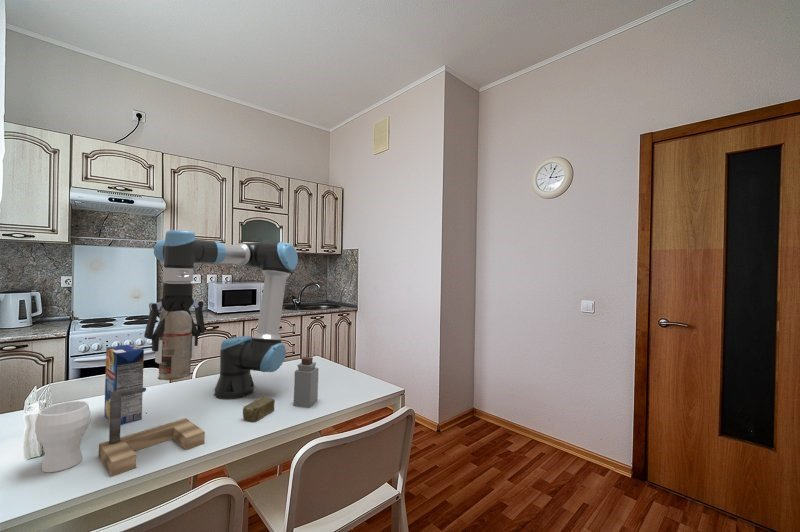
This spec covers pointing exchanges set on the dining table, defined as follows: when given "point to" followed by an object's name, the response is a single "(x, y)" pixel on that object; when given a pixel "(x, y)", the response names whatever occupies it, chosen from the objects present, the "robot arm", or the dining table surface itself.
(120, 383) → the juice carton
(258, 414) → the stone block
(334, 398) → the dining table surface
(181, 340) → the spray can
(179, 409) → the dining table surface
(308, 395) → the perfume bottle
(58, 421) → the cup
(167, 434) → the wooden stand
